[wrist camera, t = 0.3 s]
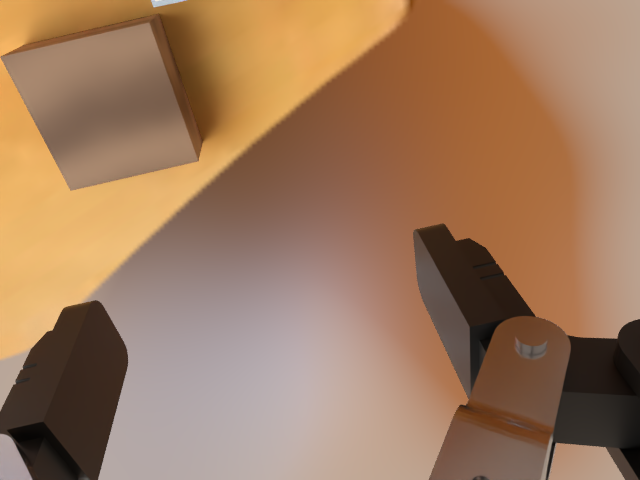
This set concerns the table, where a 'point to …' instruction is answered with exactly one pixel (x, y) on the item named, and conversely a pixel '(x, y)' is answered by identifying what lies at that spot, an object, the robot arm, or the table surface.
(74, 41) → the walnut block
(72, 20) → the table surface
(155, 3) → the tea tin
